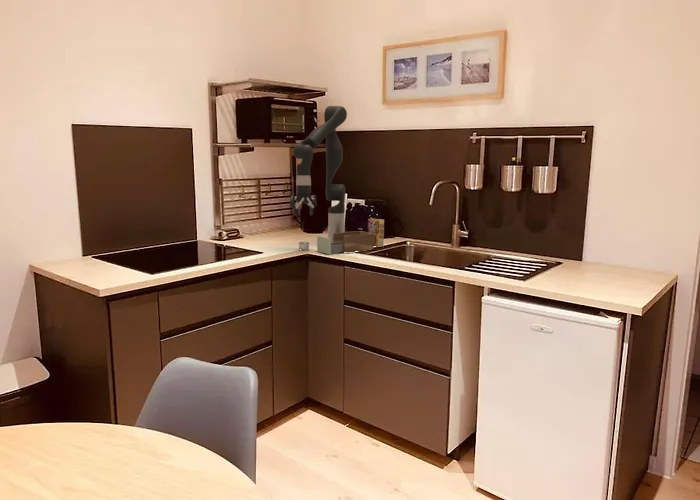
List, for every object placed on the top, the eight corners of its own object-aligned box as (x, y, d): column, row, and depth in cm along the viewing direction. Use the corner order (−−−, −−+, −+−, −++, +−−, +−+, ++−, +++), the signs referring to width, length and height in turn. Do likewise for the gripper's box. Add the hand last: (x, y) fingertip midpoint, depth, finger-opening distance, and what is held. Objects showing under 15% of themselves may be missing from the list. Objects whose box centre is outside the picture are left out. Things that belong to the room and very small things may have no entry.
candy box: (384, 247, 288) (384, 219, 286) (378, 248, 286) (378, 220, 283) (373, 245, 295) (373, 218, 293) (367, 246, 292) (367, 218, 290)
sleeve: (333, 250, 280) (333, 233, 278) (360, 247, 289) (360, 230, 287) (344, 253, 270) (344, 235, 269) (372, 250, 279) (372, 233, 277)
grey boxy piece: (317, 250, 276) (317, 235, 274) (344, 248, 284) (344, 233, 283) (329, 254, 265) (329, 238, 263) (357, 251, 273) (357, 236, 272)
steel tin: (297, 249, 281) (297, 242, 280) (306, 248, 284) (306, 241, 283) (301, 251, 277) (301, 243, 276) (310, 250, 279) (310, 242, 279)
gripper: (312, 183, 281) (312, 214, 284) (287, 184, 274) (288, 215, 276) (319, 184, 275) (319, 215, 278) (294, 184, 267) (294, 217, 270)
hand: (303, 215), depth 277 cm, fingers open, 8 cm apart
